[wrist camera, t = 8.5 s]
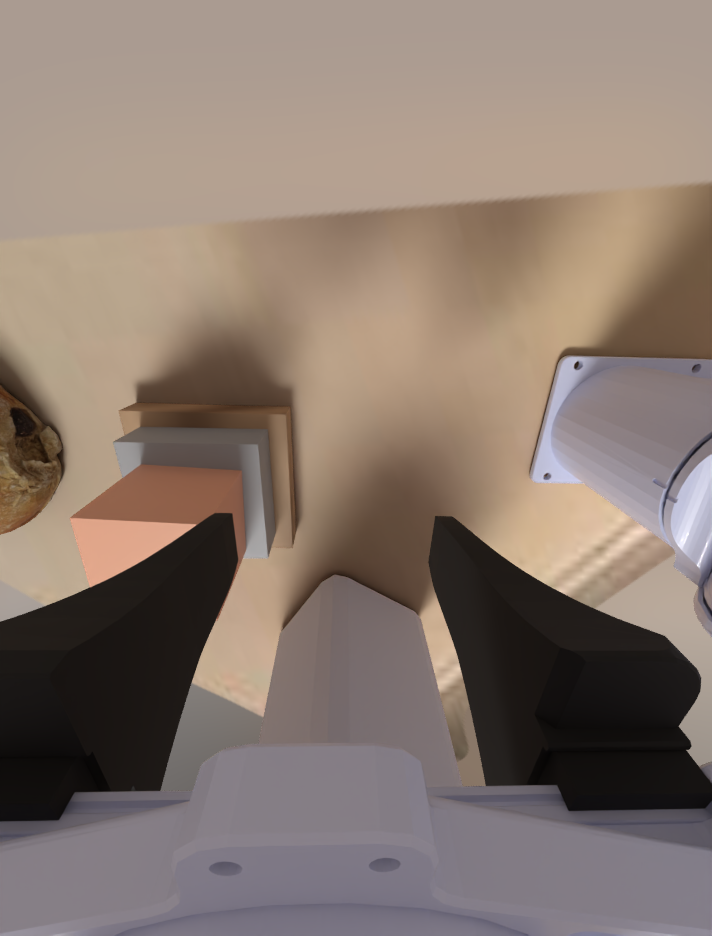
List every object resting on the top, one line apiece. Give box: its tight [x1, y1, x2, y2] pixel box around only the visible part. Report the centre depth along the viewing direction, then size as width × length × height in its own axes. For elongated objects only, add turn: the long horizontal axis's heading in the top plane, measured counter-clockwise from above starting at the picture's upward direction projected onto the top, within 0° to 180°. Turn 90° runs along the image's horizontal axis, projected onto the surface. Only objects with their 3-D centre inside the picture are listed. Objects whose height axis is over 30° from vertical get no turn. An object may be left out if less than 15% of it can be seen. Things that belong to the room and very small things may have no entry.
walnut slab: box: [119, 403, 296, 548], centre depth 22 cm, size 9×9×2 cm
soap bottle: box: [258, 574, 462, 787], centre depth 17 cm, size 9×9×25 cm
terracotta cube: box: [70, 464, 246, 621], centre depth 16 cm, size 5×5×5 cm
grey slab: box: [113, 427, 276, 558], centre depth 20 cm, size 7×7×2 cm
